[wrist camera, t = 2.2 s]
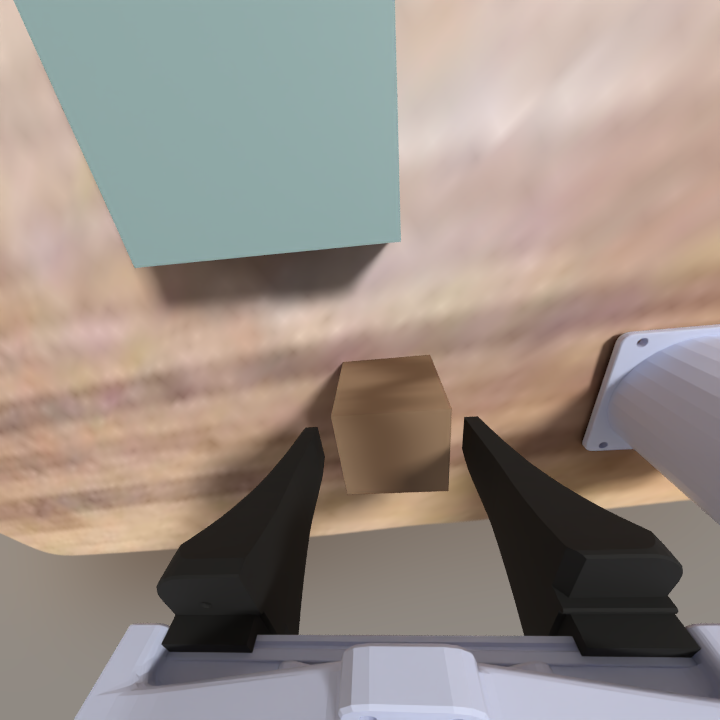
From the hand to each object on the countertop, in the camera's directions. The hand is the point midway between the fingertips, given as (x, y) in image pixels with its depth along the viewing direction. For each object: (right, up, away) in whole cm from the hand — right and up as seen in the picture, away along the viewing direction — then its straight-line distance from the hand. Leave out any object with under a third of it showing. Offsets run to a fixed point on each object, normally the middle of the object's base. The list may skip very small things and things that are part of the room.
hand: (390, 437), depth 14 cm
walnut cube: (0, +2, +3) cm, 4 cm away
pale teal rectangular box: (-5, +14, -2) cm, 15 cm away
